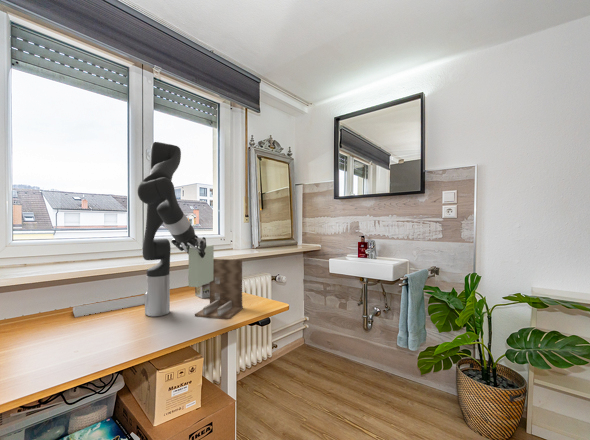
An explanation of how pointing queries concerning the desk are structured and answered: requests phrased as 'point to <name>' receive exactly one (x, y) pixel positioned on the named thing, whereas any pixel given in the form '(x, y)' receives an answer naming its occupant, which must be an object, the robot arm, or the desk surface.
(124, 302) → the decorative molding
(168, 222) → the robot arm
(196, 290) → the coffee box
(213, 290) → the wooden l-shaped stand
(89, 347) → the desk surface
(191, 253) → the pale green rectangular block
